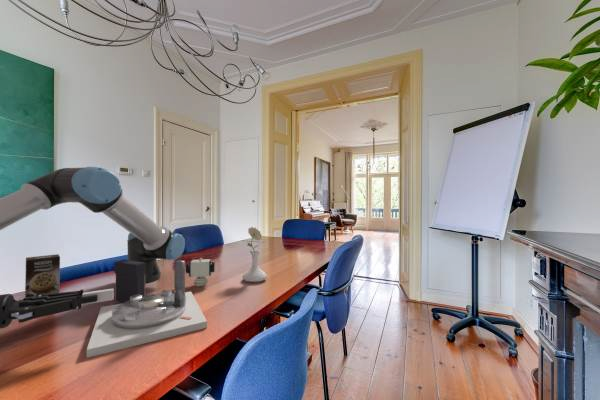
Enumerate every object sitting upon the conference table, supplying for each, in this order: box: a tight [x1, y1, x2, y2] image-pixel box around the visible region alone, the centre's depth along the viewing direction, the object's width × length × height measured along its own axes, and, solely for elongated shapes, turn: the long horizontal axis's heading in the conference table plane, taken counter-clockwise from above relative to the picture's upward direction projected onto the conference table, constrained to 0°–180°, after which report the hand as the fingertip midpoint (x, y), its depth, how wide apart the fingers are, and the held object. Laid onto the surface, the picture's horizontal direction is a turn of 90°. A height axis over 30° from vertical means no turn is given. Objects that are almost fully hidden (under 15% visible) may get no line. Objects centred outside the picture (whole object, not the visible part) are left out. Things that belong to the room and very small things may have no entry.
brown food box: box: [24, 253, 61, 298], centre depth 96 cm, size 9×6×16 cm
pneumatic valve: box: [185, 257, 216, 287], centre depth 114 cm, size 6×12×12 cm, turn 101°
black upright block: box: [113, 259, 146, 304], centre depth 95 cm, size 11×4×15 cm, turn 71°
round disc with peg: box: [112, 259, 186, 329], centre depth 81 cm, size 20×20×16 cm
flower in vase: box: [242, 226, 268, 283], centre depth 122 cm, size 13×11×25 cm
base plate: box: [86, 291, 208, 358], centre depth 81 cm, size 28×28×2 cm
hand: (113, 294), depth 71 cm, fingers closed
